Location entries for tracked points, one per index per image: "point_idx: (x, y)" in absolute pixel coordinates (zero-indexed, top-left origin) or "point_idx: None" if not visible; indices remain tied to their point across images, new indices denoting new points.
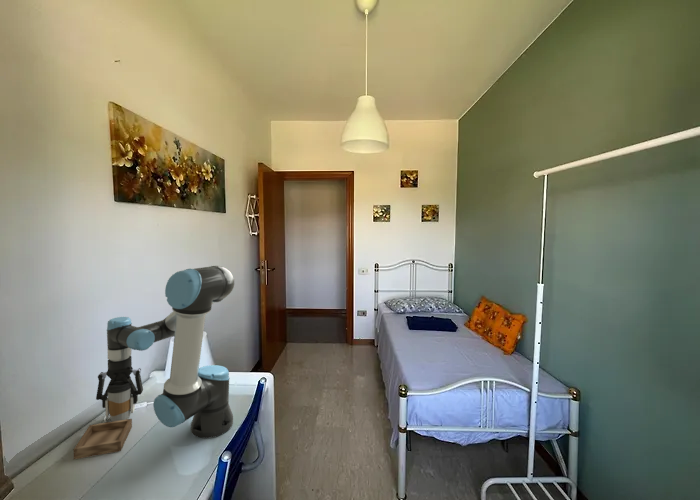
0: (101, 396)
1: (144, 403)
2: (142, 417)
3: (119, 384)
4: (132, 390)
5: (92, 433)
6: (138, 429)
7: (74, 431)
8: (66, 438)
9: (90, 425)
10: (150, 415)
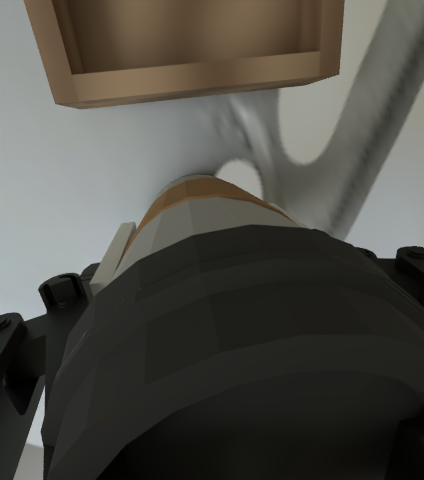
0: (395, 277)
1: None
2: (72, 213)
3: (261, 440)
4: (62, 346)
5: (292, 52)
6: (17, 71)
7: (386, 133)
8: (410, 67)
9: (332, 65)
10: (32, 228)
